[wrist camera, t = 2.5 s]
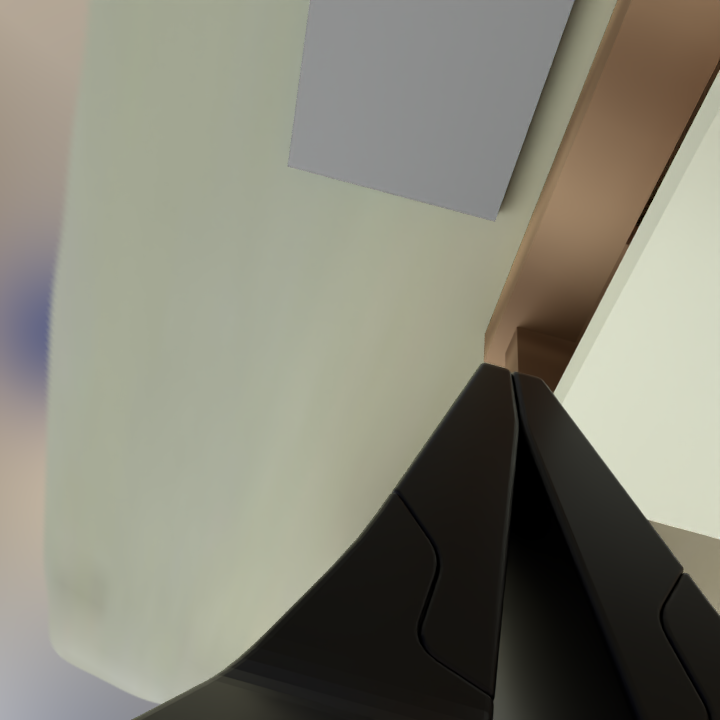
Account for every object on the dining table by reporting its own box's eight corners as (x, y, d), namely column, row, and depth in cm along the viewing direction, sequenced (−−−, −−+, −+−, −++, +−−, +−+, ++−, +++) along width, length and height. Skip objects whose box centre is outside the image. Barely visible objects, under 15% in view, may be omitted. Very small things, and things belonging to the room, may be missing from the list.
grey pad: (494, 213, 18) (494, 221, 18) (292, 160, 19) (287, 166, 18) (618, -132, 14) (621, -131, 13) (342, -202, 14) (337, -204, 13)
